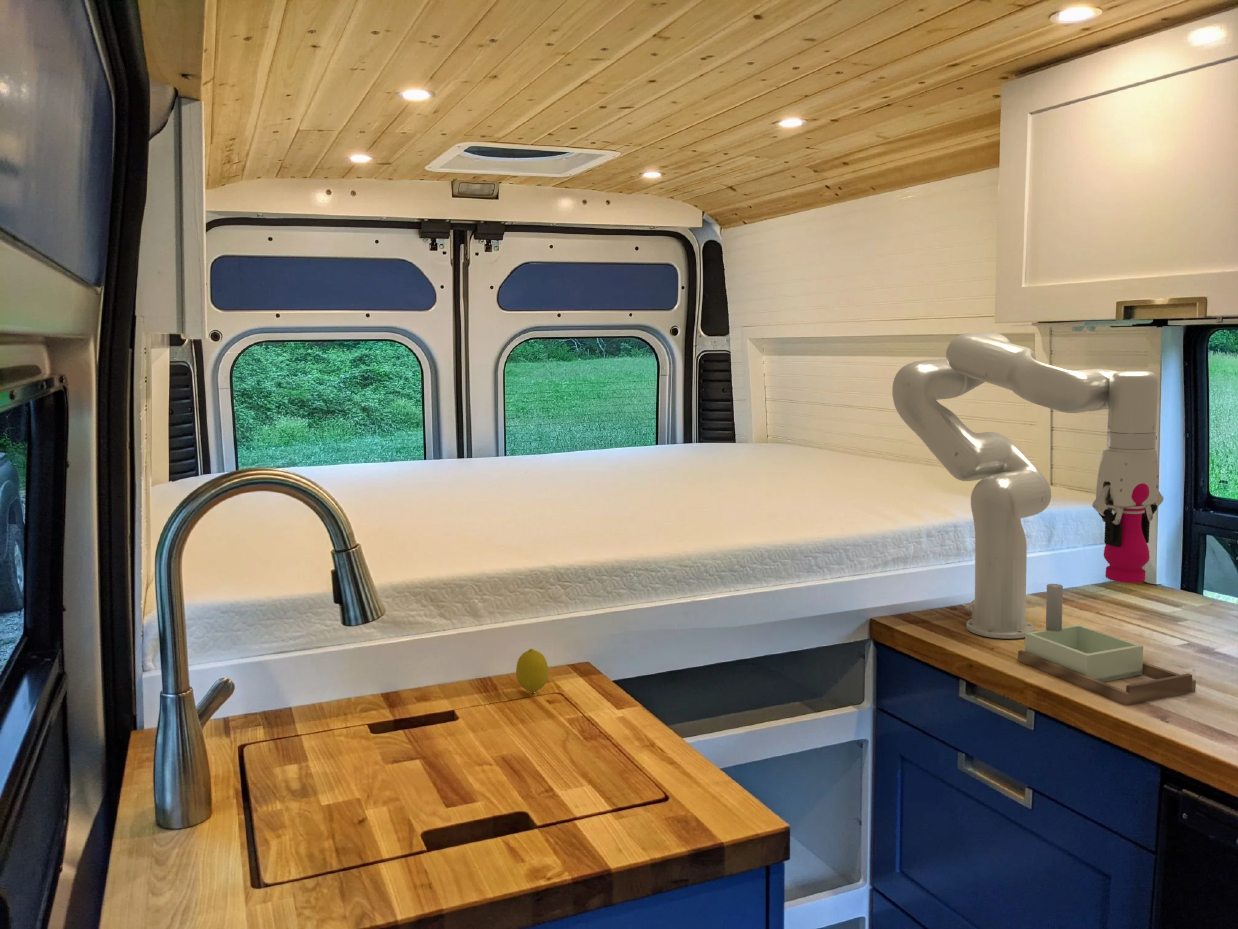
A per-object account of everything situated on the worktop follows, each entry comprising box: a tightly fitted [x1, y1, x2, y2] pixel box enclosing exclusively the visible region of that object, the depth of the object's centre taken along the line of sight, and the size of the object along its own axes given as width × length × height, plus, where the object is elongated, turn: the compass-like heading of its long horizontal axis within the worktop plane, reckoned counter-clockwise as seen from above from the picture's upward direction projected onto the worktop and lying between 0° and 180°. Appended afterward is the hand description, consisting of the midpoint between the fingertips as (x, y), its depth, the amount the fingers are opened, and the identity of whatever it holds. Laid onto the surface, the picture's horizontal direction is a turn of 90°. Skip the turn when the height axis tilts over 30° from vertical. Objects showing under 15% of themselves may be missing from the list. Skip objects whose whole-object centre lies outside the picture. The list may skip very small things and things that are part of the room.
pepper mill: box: [1103, 483, 1151, 584], centre depth 171 cm, size 7×7×20 cm
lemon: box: [515, 648, 549, 694], centre depth 167 cm, size 6×6×8 cm
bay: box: [1017, 649, 1197, 706], centre depth 163 cm, size 23×14×4 cm, turn 19°
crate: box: [1024, 583, 1144, 683], centre depth 167 cm, size 15×12×13 cm
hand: (1126, 542), depth 171 cm, fingers closed on pepper mill, 5 cm apart
